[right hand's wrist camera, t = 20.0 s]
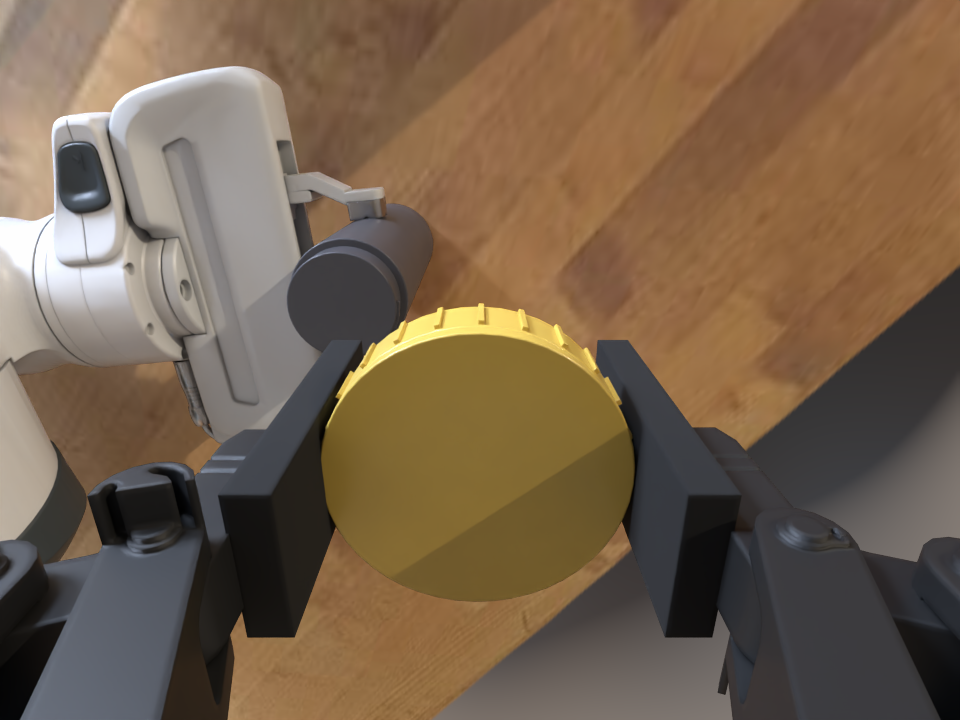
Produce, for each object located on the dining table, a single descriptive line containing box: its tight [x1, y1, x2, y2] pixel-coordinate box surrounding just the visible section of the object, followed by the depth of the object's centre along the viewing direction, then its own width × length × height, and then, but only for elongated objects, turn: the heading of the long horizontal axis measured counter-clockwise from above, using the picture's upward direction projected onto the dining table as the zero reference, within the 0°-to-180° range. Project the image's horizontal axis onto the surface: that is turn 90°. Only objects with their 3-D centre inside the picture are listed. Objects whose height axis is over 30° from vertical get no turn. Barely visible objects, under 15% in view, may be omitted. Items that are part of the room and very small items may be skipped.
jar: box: [287, 204, 433, 356], centre depth 30 cm, size 5×5×15 cm
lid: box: [321, 303, 635, 602], centre depth 11 cm, size 6×6×2 cm
